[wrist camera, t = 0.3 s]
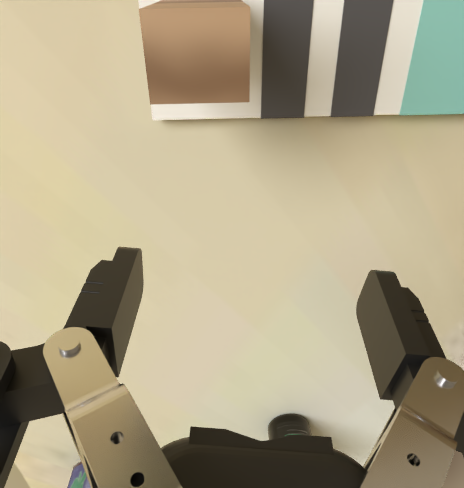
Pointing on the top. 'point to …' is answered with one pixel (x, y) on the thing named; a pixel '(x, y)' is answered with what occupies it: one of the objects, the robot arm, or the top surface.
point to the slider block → (197, 51)
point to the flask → (78, 477)
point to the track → (346, 60)
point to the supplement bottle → (288, 426)
